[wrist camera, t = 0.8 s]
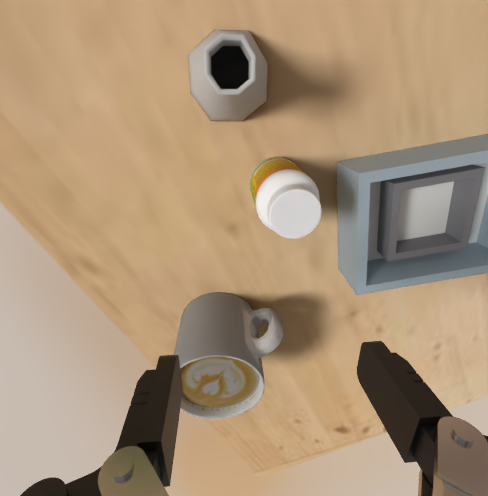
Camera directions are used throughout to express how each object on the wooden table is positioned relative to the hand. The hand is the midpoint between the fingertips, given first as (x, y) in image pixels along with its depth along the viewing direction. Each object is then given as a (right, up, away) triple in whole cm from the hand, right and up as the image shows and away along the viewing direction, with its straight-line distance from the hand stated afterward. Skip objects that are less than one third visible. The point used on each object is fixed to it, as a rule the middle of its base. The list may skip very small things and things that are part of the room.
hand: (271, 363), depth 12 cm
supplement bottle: (+2, +12, +18) cm, 21 cm away
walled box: (+18, +10, +19) cm, 28 cm away
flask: (-3, +20, +13) cm, 24 cm away
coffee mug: (-3, -4, +25) cm, 26 cm away
